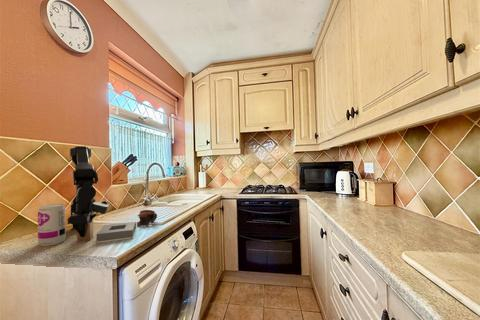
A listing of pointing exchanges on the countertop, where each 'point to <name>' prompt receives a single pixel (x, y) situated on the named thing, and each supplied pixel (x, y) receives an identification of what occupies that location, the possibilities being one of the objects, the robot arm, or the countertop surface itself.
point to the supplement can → (51, 224)
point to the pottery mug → (146, 217)
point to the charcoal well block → (116, 232)
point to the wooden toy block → (86, 233)
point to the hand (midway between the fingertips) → (85, 234)
